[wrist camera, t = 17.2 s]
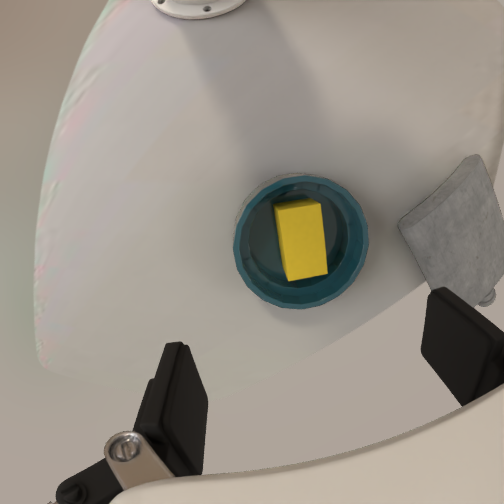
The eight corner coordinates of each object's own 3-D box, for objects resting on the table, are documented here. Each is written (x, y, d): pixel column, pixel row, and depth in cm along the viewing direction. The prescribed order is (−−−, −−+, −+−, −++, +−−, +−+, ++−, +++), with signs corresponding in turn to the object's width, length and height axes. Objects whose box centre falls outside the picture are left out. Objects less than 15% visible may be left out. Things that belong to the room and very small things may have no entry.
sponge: (272, 203, 30) (277, 210, 26) (310, 197, 30) (320, 203, 26) (282, 267, 32) (288, 281, 29) (317, 260, 32) (328, 274, 29)
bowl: (223, 184, 30) (221, 189, 26) (346, 166, 30) (362, 167, 26) (246, 299, 34) (247, 319, 30) (355, 278, 34) (370, 294, 30)
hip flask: (393, 225, 32) (444, 325, 37) (410, 234, 28) (458, 339, 34) (469, 153, 30) (505, 260, 35) (489, 155, 26) (521, 268, 31)
